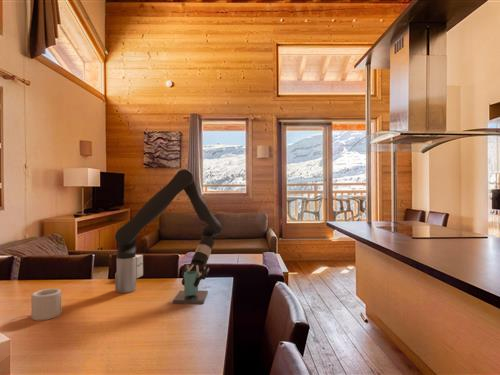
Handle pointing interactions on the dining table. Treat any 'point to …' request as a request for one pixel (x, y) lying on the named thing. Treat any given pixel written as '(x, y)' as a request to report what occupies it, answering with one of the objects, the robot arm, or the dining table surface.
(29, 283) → the dining table surface
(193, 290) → the sleeve
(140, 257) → the supplement box
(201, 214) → the robot arm
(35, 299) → the mug
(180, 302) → the post base
